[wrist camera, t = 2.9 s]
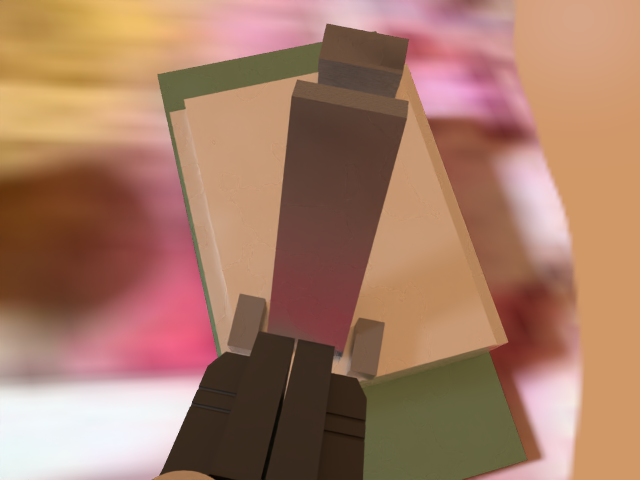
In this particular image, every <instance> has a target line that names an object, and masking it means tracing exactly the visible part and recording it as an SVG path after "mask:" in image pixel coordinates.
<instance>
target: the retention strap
mask: <svg viewBox="0 0 640 480" xmlns="http://www.w3.org/2000/svg"><path fill="white" fill-rule="evenodd" d="M408 104H409V101H406V100H401V99H396V98H391V97H385V96H380V95H375V94H370V93H365V92H360V91H354V90H349V89H344V88H339V87H334V86H329V85H323V84H318V83H313V82H308V81H303V80H298V79H297V81H296V84H295V87H294V90H293V93H292V96H291V106H290V116H289V125H288V135H287V145H286V154H285V164H284V174H283V184H282V193H281V203H280V213H279V222H278V232H277V242H276V251H275V261H274V271H273V281H272V290H271V300H270V310H269V319H268V329H267V333H271V334H276V335H281V336H286V337H291V338H295V344H294V348H295V349H296V347H297V343H298V339H302V340H306V341H311V342H316V343H321V344H326V345H331V346H335V350H334V356H335V357H340V358H342V356H343V352H344V349H345V345H346V341H347V337H348V334H349V330H350V326H351V323H352V319H353V315H354V312H355V308H356V304H357V301H358V297H359V293H360V290H361V286H362V282H363V279H364V275H365V271H366V268H367V264H368V260H369V257H370V253H371V249H372V246H373V242H374V238H375V235H376V231H377V227H378V224H379V220H380V216H381V213H382V209H383V205H384V202H385V198H386V194H387V191H388V187H389V183H390V180H391V176H392V172H393V169H394V165H395V161H396V157H397V154H398V150H399V146H400V143H401V139H402V135H403V132H404V128H405V124H406V121H407V115H408Z"/></svg>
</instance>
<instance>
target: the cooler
mask: <svg viewBox="0 0 640 480" xmlns="http://www.w3.org/2000/svg"><path fill="white" fill-rule="evenodd" d="M408 41H409V39H404V38H399V37H394V36H389V35H384V34H378V33H377V32H376V31H375V32H368V31H363V30H357V29H352V28H347V27H342V26H337V25H331V24H327V25H326V29H325V33H324V38H323V42H320V43H314V44H309V45H304V46H299V47H294V48H289V49H284V50H279V51H274V52H269V53H264V54H259V55H254V56H249V57H243V58H238V59H233V60H228V61H223V62H218V63H213V64H208V65H203V66H198V67H193V68H188V69H183V70H178V71H172V72H167V73H162V74H157V75H158V80H159V84H160V89H161V94H162V98H163V103H164V108H165V112H166V117H167V122H168V126H169V131H170V136H171V140H172V145H173V150H174V155H175V159H176V164H177V169H178V173H179V178H180V183H181V187H182V192H183V197H184V201H185V206H186V211H187V215H188V220H189V225H190V229H191V234H192V239H193V243H194V248H195V253H196V257H197V262H198V267H199V272H200V276H201V281H202V286H203V290H204V295H205V300H206V304H207V309H208V314H209V318H210V323H211V328H212V332H213V337H214V342H215V346H216V351H217V356H218V357H220V356H221V355H222V354H223V353H225V352H226V351H227V352H232V353H236V354H241V355H246V356H250V354H251V351H252V348H253V345H254V342H255V339H256V336H257V334H258V332H259V331H262V332H266V333H267V329H268V319H269V310H270V300H271V290H272V281H273V271H274V261H275V251H276V242H277V232H278V222H279V213H280V203H281V193H282V184H283V174H284V164H285V154H286V145H287V135H288V125H289V116H290V106H291V96H292V93H293V90H294V87H295V84H296V81H297V79H298V80H303V81H308V82H313V83H318V84H323V85H329V86H334V87H339V88H344V89H349V90H354V91H360V92H365V93H370V94H375V95H380V96H385V97H391V98H396V99H401V100H406V101H409V104H408V115H407V121H406V124H405V128H404V132H403V135H402V139H401V143H400V146H399V150H398V154H397V157H396V161H395V165H394V169H393V172H392V176H391V180H390V183H389V187H388V191H387V194H386V198H385V202H384V205H383V209H382V213H381V216H380V220H379V224H378V227H377V231H376V235H375V238H374V242H373V246H372V249H371V253H370V257H369V260H368V264H367V268H366V271H365V275H364V279H363V282H362V286H361V290H360V293H359V297H358V301H357V304H356V308H355V312H354V315H353V319H352V323H351V326H350V330H349V334H348V337H347V341H346V345H345V349H344V352H343V356H342V358H340V357H335V356H334V358H333V365H332V372H331V373H335V374H340V375H345V376H349V377H354V378H357V379H358V381H359V383H360V385H361V387H362V389H363V391H364V394H365V396H366V398H367V408H366V422H365V424H366V429H365V441H364V442H365V449H364V469H363V480H463V479H466V478H469V477H472V476H476V475H479V474H482V473H486V472H489V471H492V470H496V469H499V468H502V467H506V466H509V465H512V464H516V463H519V462H522V461H526V460H527V457H526V455H525V452H524V449H523V446H522V443H521V440H520V438H519V435H518V432H517V429H516V426H515V423H514V421H513V418H512V415H511V412H510V409H509V406H508V404H507V401H506V398H505V395H504V392H503V389H502V387H501V384H500V381H499V378H498V375H497V372H496V370H495V367H494V364H493V361H492V358H491V355H490V353H489V351H491V350H493V349H495V348H497V347H499V346H502V345H504V344H506V343H508V340H507V337H506V334H505V331H504V329H503V326H502V323H501V320H500V318H499V315H498V312H497V310H496V307H495V304H494V301H493V299H492V296H491V293H490V290H489V288H488V285H487V282H486V279H485V277H484V274H483V271H482V268H481V266H480V263H479V260H478V257H477V255H476V252H475V249H474V246H473V244H472V241H471V238H470V235H469V233H468V230H467V227H466V224H465V222H464V219H463V216H462V213H461V211H460V208H459V205H458V202H457V200H456V197H455V194H454V192H453V189H452V186H451V183H450V181H449V178H448V175H447V172H446V170H445V167H444V164H443V161H442V159H441V156H440V153H439V150H438V148H437V145H436V142H435V139H434V137H433V134H432V131H431V128H430V126H429V123H428V120H427V117H426V115H425V112H424V109H423V106H422V104H421V101H420V98H419V95H418V93H417V90H416V87H415V84H414V82H413V79H412V76H411V74H410V71H409V68H408V65H407V64H405V58H406V53H407V47H408ZM295 351H296V349H295V348H294V349H293V355H292V360H291V365H290V371H289V376H288V381H289V377H290V373H291V368H292V364H293V360H294V356H295ZM288 381H287V385H288ZM286 390H287V387H286ZM285 394H286V392H285Z"/></svg>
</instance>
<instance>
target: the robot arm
mask: <svg viewBox="0 0 640 480" xmlns="http://www.w3.org/2000/svg"><path fill="white" fill-rule="evenodd" d="M294 344H295V338H291V337H286V336H281V335H276V334H271V333H266V332H262V331H259V332H258V334H257V336H256V339H255V342H254V345H253V348H252V351H251V354H250V356H246V355H241V354H236V353H232V352H227V351H226V352H225V353H223V354H222V355H221V356H220V357H218V358H217V359H216V360H215V361H213V362H212V363H211V364H210V365H209V366H208V367H207V369H206V371H205V374H204V376H203V378H202V380H201V383H200V385H199V389H198V390H197V392H196V394H195V396H194V399H193V401H192V405H191V407H190V408H189V410H188V412H187V415H186V417H185V419H184V422H183V424H182V426H181V428H180V431H179V433H178V435H177V438H176V440H175V442H174V445H173V447H172V449H171V451H170V454H169V456H168V458H167V461H166V463H165V465H164V467H163V469H162V471H161V473H160V475H159V476H158V477H156V478H154V479H152V480H363V469H364V449H365V442H364V441H365V429H366V424H365V422H366V408H367V398H366V396H365V394H364V391H363V389H362V387H361V385H360V383H359V381H358V379H357V378H354V377H349V376H345V375H340V374H335V373H331V372H332V365H333V358H334V350H335V346H331V345H326V344H321V343H316V342H311V341H306V340H302V339H298V343H297V347H296V351H295V356H294V360H293V364H292V368H291V373H290V377H289V381H288V376H289V371H290V365H291V360H292V355H293V349H294ZM287 381H288V385H287ZM286 387H287V390H286ZM285 392H286V394H285Z"/></svg>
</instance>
